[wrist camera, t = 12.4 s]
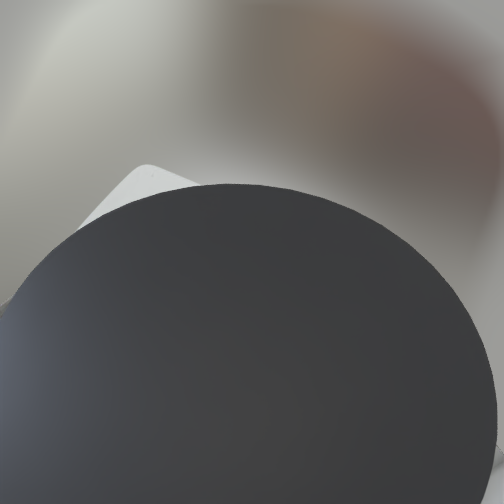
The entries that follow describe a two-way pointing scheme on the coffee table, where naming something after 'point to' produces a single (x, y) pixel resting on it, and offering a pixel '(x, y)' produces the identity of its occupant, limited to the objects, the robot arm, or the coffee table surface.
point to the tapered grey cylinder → (241, 362)
